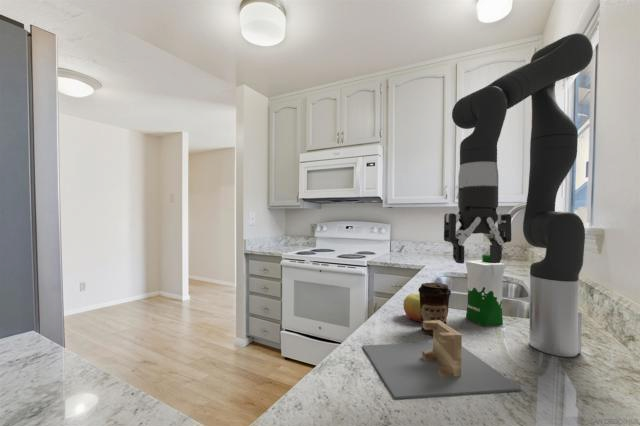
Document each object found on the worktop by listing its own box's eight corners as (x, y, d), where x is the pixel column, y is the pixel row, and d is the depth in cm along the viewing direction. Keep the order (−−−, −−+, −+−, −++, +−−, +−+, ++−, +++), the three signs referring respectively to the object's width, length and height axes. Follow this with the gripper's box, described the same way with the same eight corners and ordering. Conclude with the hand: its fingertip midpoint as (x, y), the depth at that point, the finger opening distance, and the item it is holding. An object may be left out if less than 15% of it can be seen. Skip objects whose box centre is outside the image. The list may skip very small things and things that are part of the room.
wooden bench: (439, 356, 65) (439, 320, 65) (461, 376, 57) (461, 334, 57) (422, 357, 65) (422, 320, 65) (441, 377, 57) (442, 335, 57)
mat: (455, 343, 73) (456, 341, 73) (521, 390, 53) (521, 388, 53) (362, 347, 70) (362, 345, 70) (394, 399, 50) (394, 396, 50)
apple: (440, 318, 91) (440, 292, 92) (433, 328, 83) (434, 299, 83) (408, 312, 97) (408, 287, 97) (399, 321, 88) (399, 294, 89)
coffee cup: (454, 340, 75) (455, 289, 75) (420, 337, 76) (420, 287, 77) (446, 328, 83) (447, 282, 84) (416, 325, 85) (416, 280, 85)
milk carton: (508, 325, 87) (508, 257, 87) (483, 328, 84) (484, 257, 84) (483, 315, 95) (484, 253, 95) (460, 317, 92) (461, 254, 93)
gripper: (495, 188, 67) (495, 259, 67) (436, 186, 65) (436, 260, 65) (522, 184, 60) (522, 265, 60) (456, 183, 58) (456, 266, 58)
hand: (477, 262), depth 62 cm, fingers open, 7 cm apart
